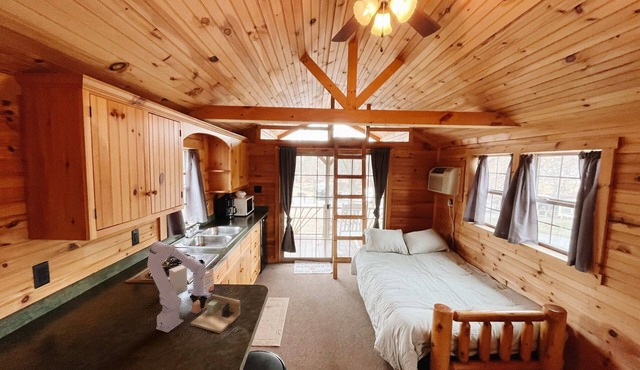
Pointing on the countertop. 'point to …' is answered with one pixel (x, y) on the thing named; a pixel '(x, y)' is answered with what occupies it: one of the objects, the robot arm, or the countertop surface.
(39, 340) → the countertop surface
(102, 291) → the countertop surface
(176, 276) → the skincare box
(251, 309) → the countertop surface
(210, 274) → the ink cartridge box
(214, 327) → the shelf
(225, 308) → the bookend
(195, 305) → the salmon orange block
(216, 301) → the sage green block
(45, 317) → the countertop surface
